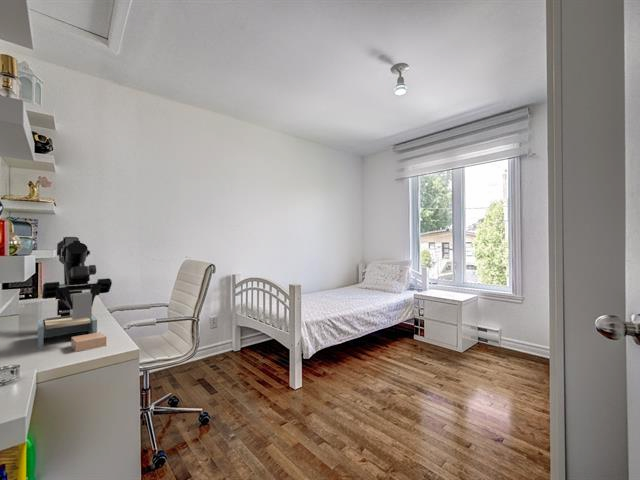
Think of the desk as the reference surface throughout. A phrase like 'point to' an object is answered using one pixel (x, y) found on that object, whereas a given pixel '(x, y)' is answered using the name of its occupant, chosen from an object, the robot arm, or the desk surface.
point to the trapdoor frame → (64, 329)
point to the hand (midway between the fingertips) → (81, 307)
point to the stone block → (88, 341)
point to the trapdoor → (64, 322)
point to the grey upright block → (81, 305)
